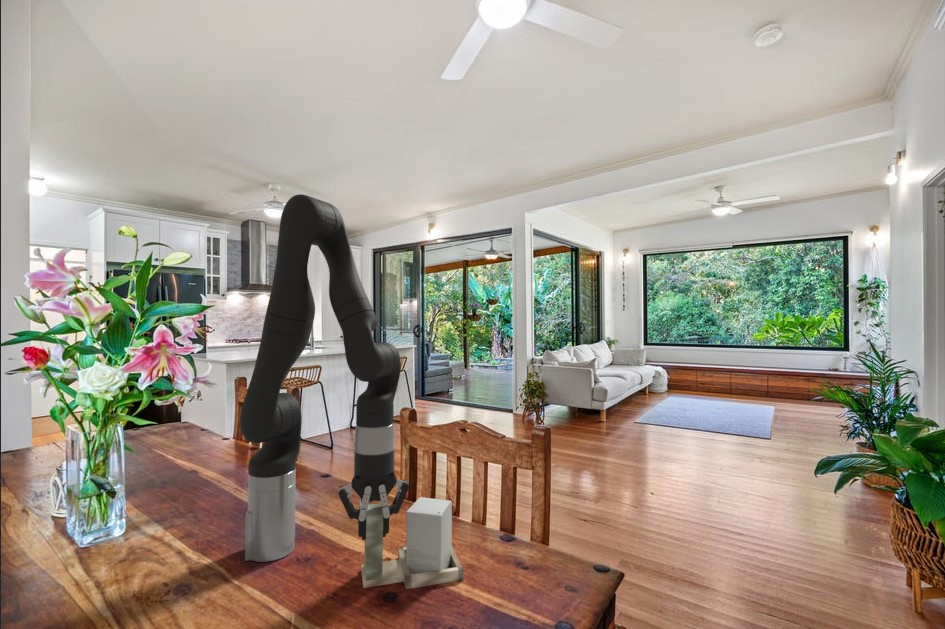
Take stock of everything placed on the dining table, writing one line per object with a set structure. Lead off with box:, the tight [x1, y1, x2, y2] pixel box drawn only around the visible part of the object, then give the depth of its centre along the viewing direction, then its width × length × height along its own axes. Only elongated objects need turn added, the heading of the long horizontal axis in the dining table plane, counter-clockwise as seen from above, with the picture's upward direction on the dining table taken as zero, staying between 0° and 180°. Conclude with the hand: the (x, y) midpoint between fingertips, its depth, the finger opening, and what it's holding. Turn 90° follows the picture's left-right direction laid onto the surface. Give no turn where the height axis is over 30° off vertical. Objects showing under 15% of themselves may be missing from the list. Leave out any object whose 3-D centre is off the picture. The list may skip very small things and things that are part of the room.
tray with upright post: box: [361, 502, 465, 590], centre depth 87 cm, size 18×11×13 cm, turn 107°
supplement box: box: [405, 496, 453, 574], centre depth 88 cm, size 7×7×13 cm
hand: (373, 536), depth 85 cm, fingers closed on tray with upright post, 3 cm apart
